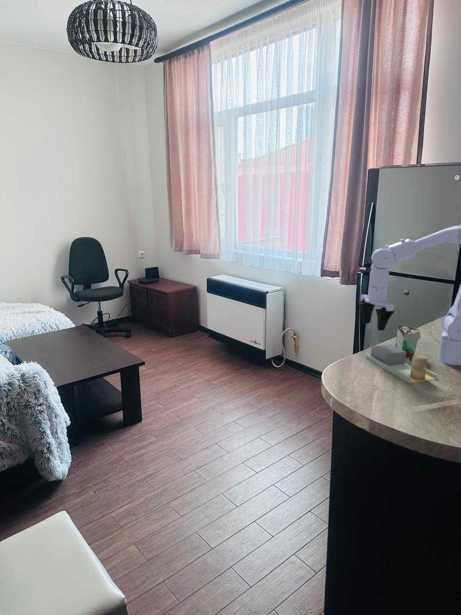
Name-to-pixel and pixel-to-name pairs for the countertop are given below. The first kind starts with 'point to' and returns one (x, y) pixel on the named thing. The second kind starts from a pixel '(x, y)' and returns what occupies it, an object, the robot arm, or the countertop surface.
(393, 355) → the slab
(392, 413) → the countertop surface
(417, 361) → the roller pin
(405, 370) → the runway
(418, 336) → the food container
